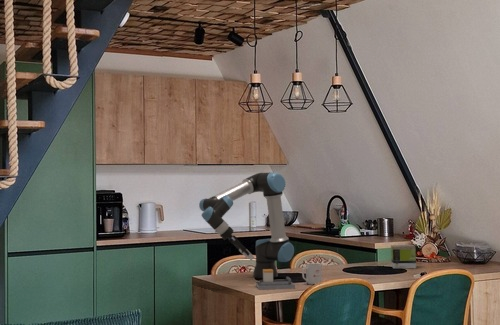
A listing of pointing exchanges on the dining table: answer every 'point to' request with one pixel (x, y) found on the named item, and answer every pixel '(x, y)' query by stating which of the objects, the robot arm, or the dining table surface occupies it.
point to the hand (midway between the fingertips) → (250, 257)
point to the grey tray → (276, 284)
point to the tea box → (403, 256)
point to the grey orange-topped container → (267, 275)
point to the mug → (312, 273)
